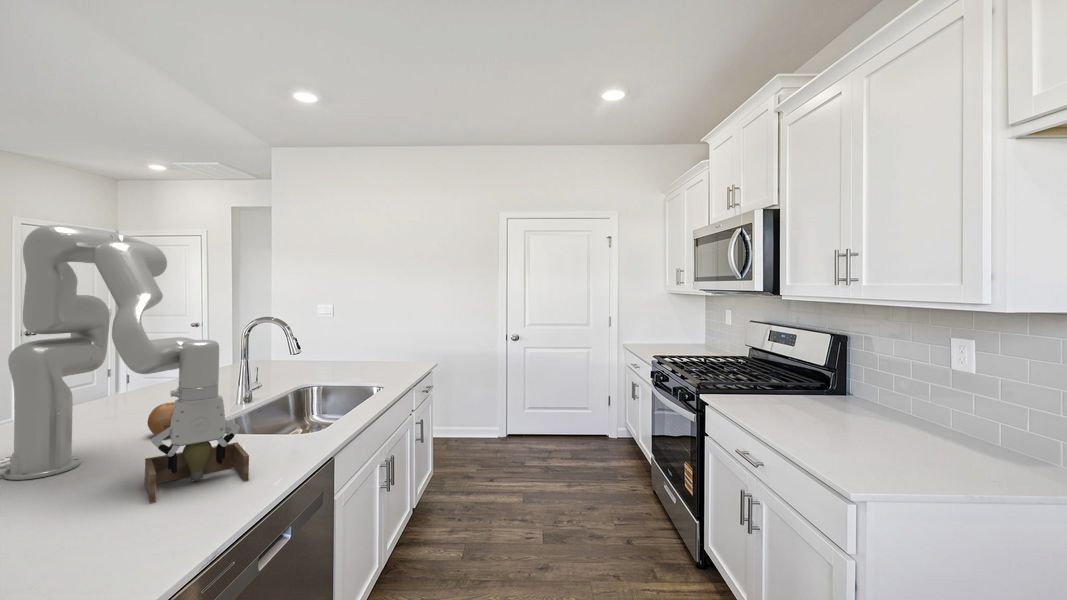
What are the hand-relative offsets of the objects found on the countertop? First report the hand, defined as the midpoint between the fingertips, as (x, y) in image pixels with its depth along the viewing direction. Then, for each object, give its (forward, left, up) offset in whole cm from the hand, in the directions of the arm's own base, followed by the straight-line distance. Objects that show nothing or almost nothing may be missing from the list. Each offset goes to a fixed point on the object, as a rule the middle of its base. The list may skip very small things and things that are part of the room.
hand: (197, 466), depth 106 cm
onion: (-1, +44, -4) cm, 44 cm away
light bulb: (0, 0, -4) cm, 4 cm away
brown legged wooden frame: (0, -1, -3) cm, 4 cm away
